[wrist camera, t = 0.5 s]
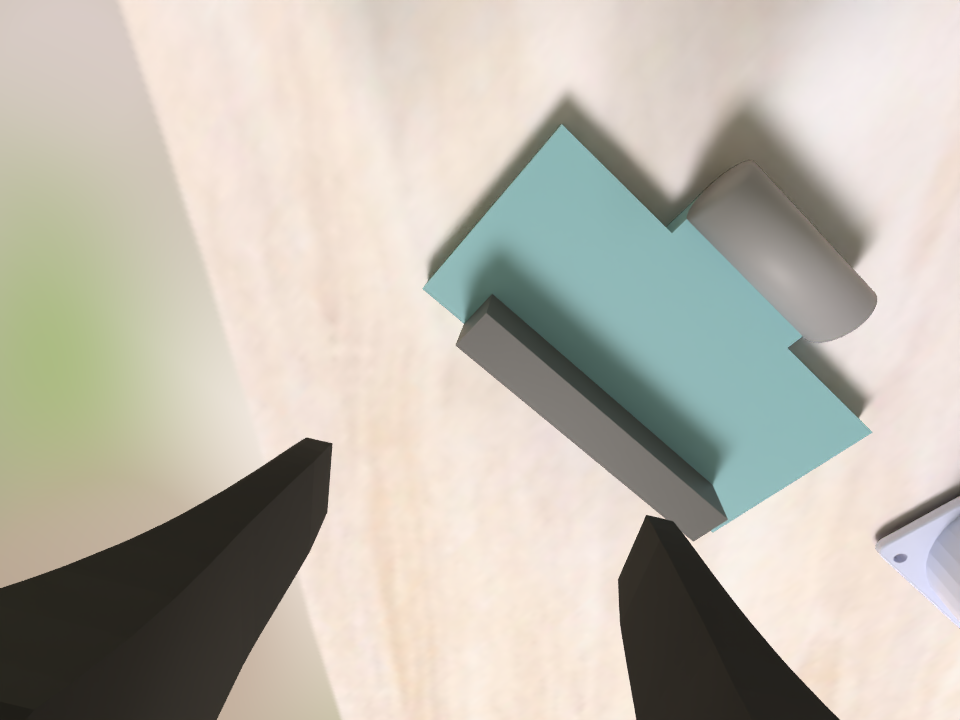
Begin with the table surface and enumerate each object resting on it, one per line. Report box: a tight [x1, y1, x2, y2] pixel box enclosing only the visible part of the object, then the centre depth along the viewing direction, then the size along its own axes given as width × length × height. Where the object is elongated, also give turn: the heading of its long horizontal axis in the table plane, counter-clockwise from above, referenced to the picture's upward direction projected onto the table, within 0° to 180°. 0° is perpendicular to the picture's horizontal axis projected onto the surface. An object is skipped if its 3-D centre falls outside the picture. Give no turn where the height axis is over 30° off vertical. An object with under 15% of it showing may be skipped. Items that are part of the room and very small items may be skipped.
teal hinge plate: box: [423, 124, 877, 541], centre depth 18 cm, size 16×10×3 cm, turn 49°
